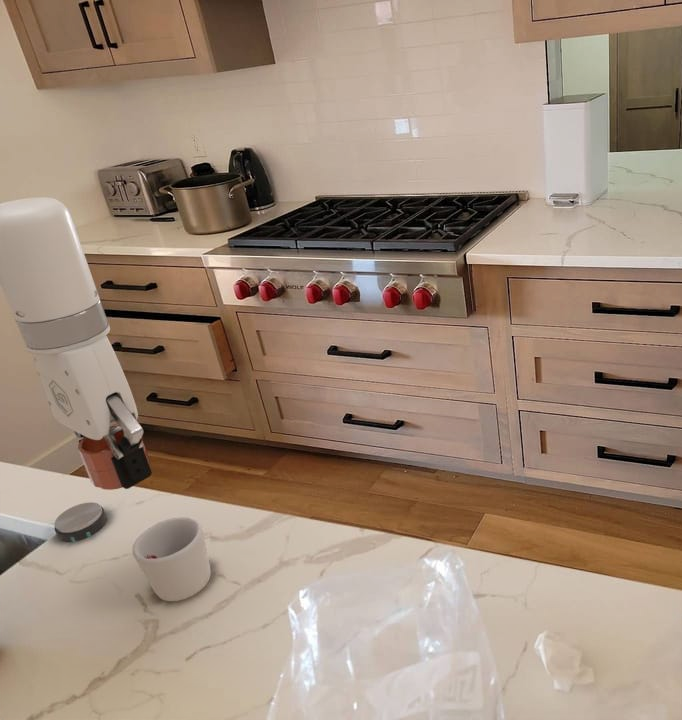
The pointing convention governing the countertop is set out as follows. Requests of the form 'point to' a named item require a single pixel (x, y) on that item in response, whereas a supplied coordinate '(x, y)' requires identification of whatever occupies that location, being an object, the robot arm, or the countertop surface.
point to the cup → (174, 558)
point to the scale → (80, 522)
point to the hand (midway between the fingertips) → (120, 471)
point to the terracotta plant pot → (101, 461)
